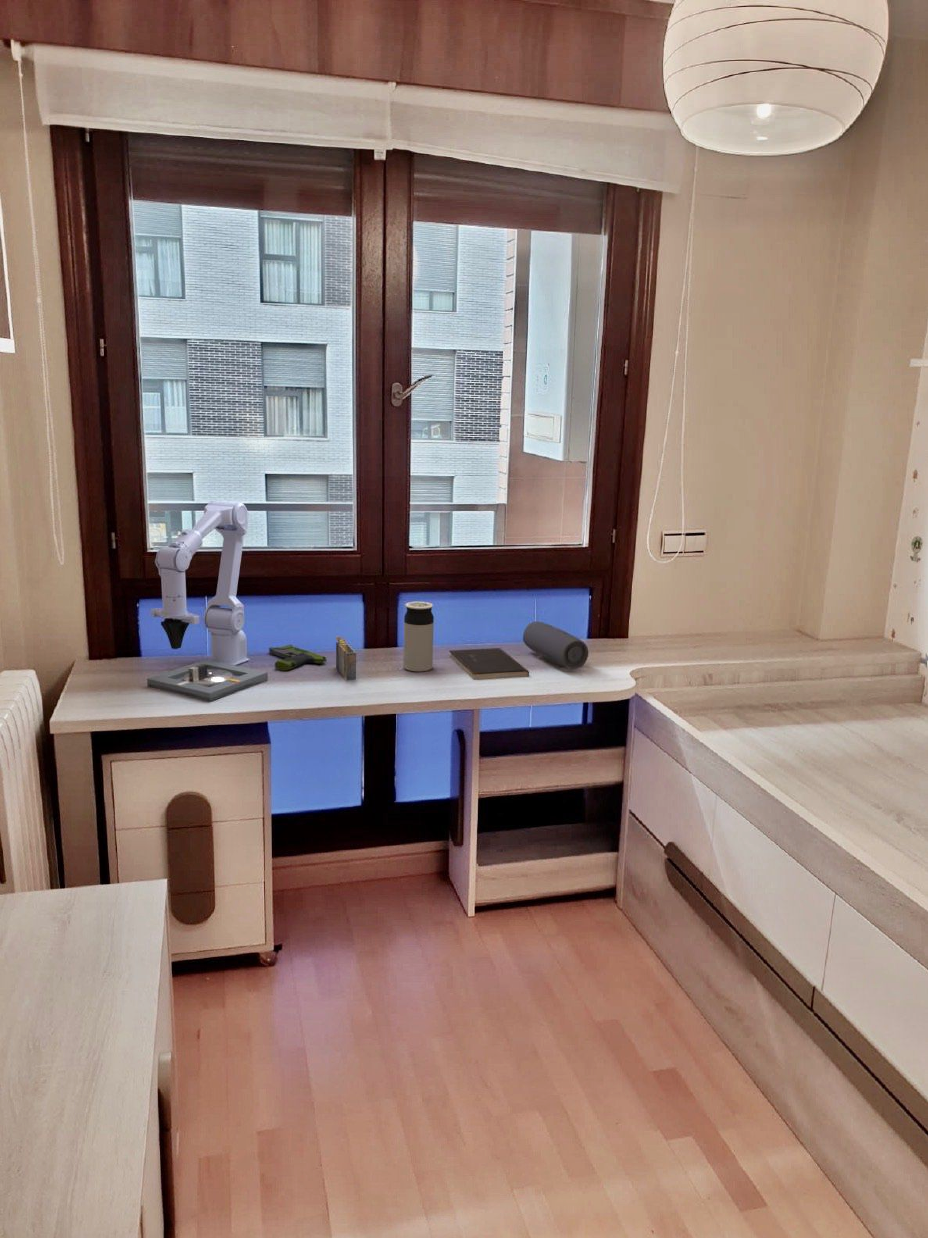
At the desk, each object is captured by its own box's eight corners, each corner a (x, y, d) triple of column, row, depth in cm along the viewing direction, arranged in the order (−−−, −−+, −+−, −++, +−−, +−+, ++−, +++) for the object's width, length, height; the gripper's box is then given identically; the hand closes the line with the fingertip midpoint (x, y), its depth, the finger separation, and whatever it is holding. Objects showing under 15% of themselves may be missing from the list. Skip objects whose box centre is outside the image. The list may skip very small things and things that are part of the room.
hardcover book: (472, 681, 252) (472, 673, 252) (449, 658, 274) (449, 650, 273) (528, 678, 257) (529, 670, 256) (501, 655, 278) (501, 647, 278)
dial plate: (206, 667, 256) (206, 658, 255) (267, 680, 246) (267, 671, 246) (147, 686, 238) (146, 677, 237) (210, 702, 228) (210, 692, 228)
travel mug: (432, 672, 257) (433, 608, 253) (402, 671, 257) (403, 607, 253) (432, 664, 265) (434, 601, 261) (404, 663, 265) (405, 600, 261)
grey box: (334, 669, 259) (334, 635, 257) (345, 668, 260) (345, 634, 258) (344, 681, 249) (344, 645, 247) (356, 680, 250) (356, 645, 248)
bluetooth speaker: (589, 671, 263) (591, 637, 261) (560, 675, 259) (562, 639, 257) (547, 650, 283) (549, 618, 280) (520, 653, 279) (521, 620, 276)
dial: (207, 669, 250) (206, 654, 249) (242, 677, 244) (242, 661, 243) (173, 681, 239) (172, 664, 238) (209, 689, 234) (208, 672, 233)
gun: (246, 659, 266) (290, 651, 276) (285, 673, 253) (330, 664, 263) (245, 650, 265) (290, 642, 276) (285, 663, 252) (330, 655, 263)
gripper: (140, 594, 235) (143, 647, 238) (183, 601, 228) (186, 656, 232) (162, 589, 241) (164, 641, 244) (204, 596, 234) (206, 649, 238)
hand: (176, 648), depth 238 cm, fingers closed
